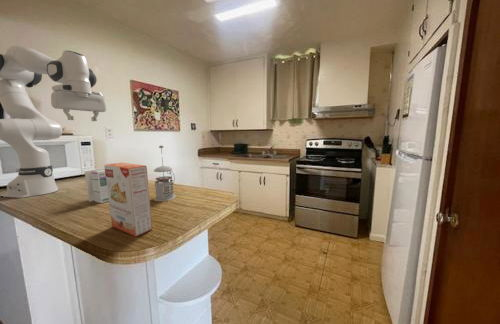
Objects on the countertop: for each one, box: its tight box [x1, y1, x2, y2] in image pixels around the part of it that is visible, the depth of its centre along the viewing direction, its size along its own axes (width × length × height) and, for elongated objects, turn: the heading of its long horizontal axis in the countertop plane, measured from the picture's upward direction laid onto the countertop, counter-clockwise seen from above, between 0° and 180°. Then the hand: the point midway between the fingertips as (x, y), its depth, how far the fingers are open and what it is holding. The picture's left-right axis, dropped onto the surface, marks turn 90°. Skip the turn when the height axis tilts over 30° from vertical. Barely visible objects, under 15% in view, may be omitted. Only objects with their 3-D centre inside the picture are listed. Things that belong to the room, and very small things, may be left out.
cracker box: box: [104, 162, 153, 238], centre depth 65 cm, size 14×6×21 cm, turn 58°
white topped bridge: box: [84, 167, 105, 202], centre depth 99 cm, size 16×10×14 cm
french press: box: [153, 145, 177, 202], centre depth 97 cm, size 10×12×25 cm
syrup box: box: [91, 168, 109, 204], centre depth 94 cm, size 6×6×14 cm
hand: (83, 120), depth 95 cm, fingers open, 8 cm apart
